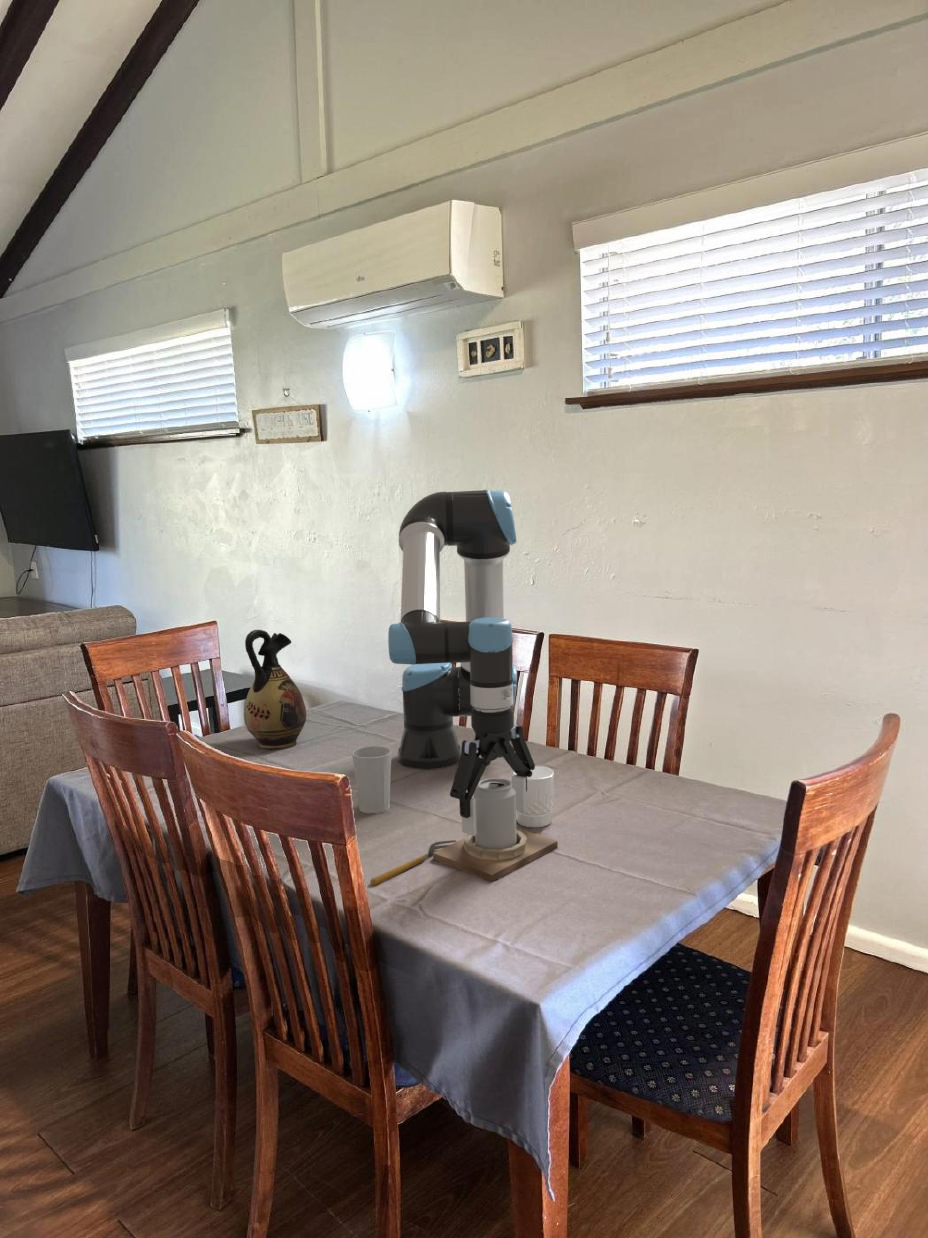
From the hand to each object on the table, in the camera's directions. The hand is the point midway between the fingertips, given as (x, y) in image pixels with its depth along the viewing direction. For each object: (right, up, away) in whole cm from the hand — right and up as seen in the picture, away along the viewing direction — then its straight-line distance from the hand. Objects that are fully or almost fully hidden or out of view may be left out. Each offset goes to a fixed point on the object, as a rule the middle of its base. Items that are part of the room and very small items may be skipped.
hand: (495, 821), depth 165 cm
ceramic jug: (-54, +4, +70) cm, 88 cm away
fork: (-14, -8, -3) cm, 16 cm away
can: (0, -5, +1) cm, 5 cm away
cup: (-24, -3, +25) cm, 34 cm away
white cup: (+8, -3, +15) cm, 18 cm away
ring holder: (0, -6, +1) cm, 6 cm away
